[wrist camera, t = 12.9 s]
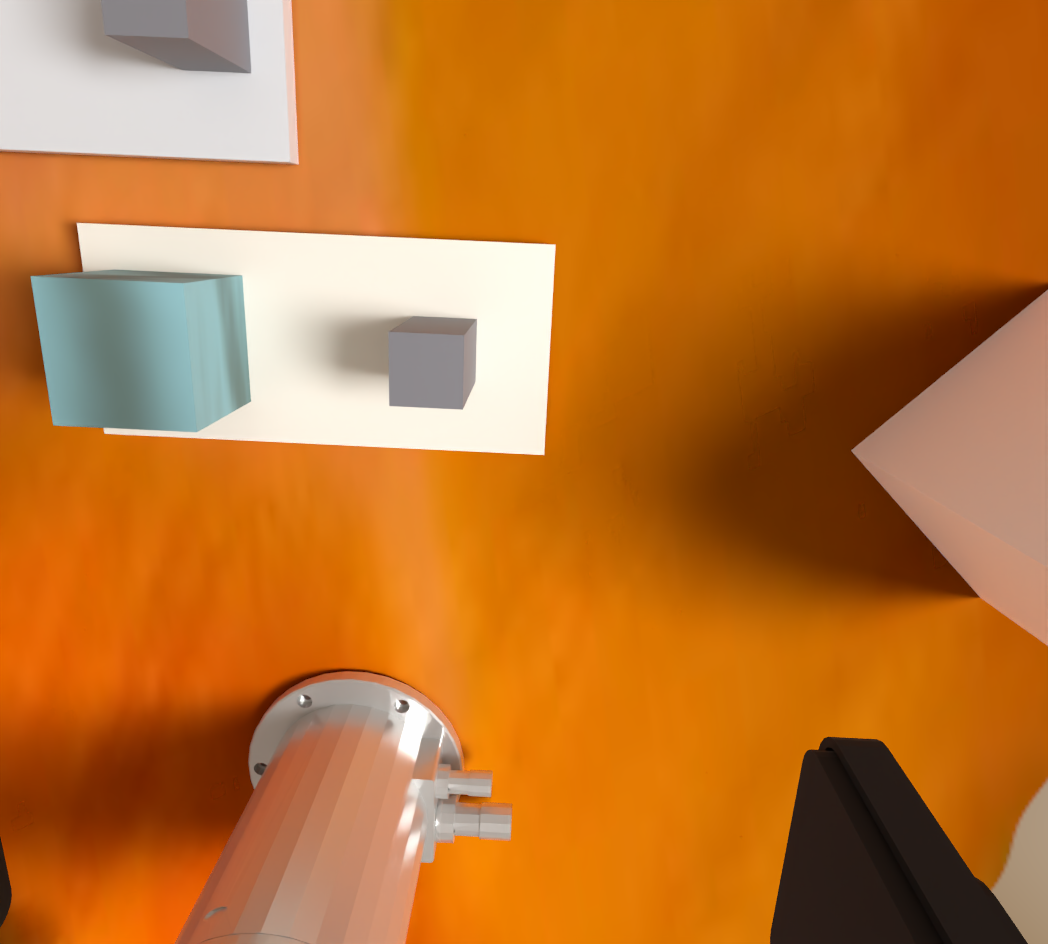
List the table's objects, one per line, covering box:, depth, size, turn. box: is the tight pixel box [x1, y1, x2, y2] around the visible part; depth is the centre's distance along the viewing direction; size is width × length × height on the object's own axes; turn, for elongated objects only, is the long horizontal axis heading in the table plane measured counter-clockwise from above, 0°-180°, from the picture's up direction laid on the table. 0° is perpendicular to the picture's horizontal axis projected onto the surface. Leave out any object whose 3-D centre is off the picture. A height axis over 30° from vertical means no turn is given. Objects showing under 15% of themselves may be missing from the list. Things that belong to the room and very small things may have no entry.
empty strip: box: [0, 0, 299, 165], centre depth 30 cm, size 18×10×7 cm, turn 88°
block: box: [31, 269, 251, 432], centre depth 33 cm, size 6×6×6 cm
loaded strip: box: [77, 223, 555, 455], centre depth 33 cm, size 22×10×7 cm, turn 88°
